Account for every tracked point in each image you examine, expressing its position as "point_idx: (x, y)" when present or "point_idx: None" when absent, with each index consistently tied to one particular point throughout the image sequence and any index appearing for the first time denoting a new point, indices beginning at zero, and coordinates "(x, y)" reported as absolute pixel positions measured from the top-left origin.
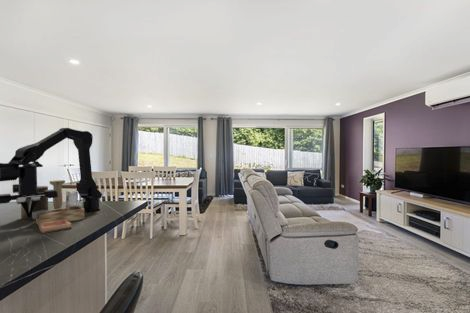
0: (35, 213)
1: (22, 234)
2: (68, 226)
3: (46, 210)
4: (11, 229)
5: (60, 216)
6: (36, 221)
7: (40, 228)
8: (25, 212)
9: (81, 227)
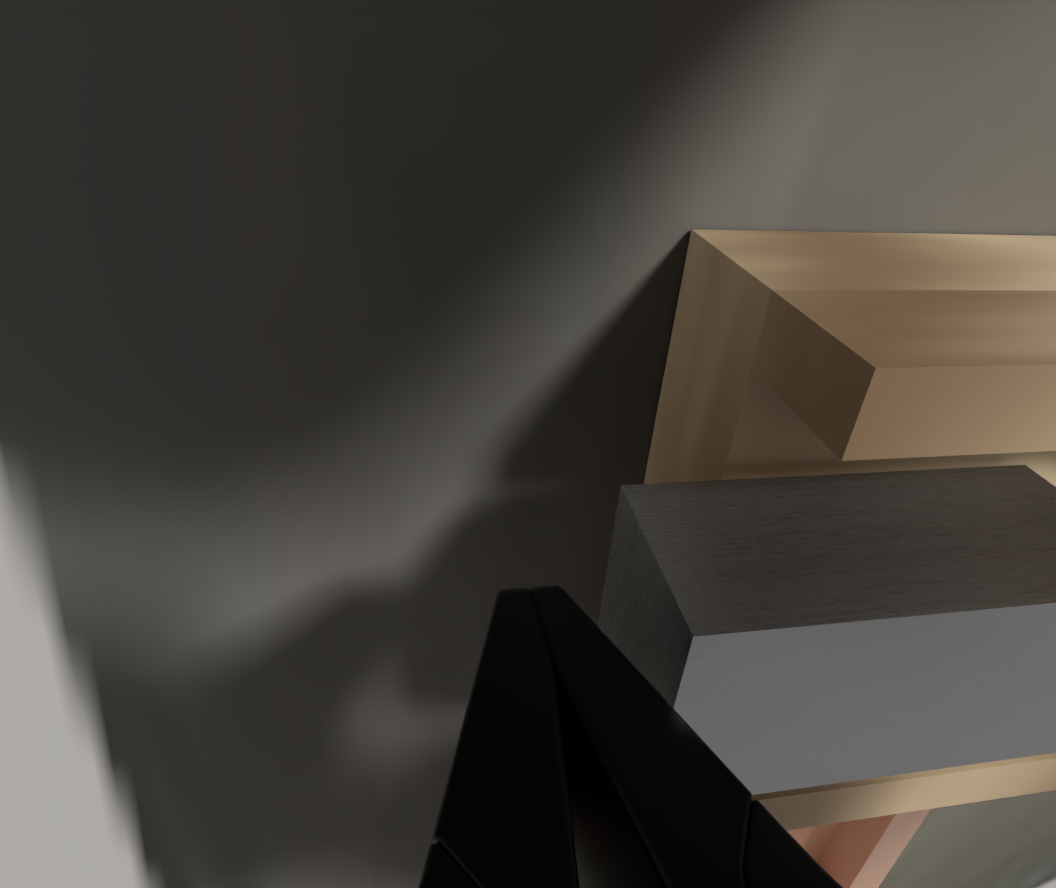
0: None
1: (353, 852)
2: None
3: (1024, 687)
4: (160, 537)
5: None
6: (693, 296)
7: None
8: (462, 743)
9: None
